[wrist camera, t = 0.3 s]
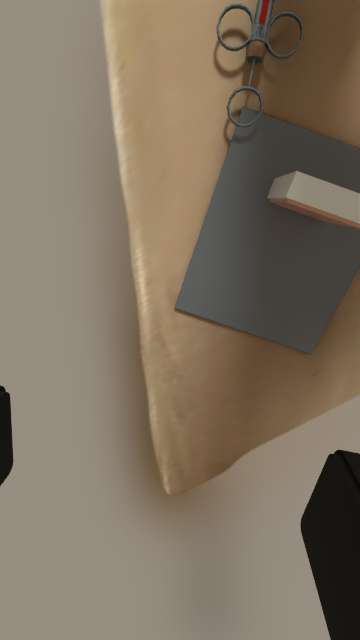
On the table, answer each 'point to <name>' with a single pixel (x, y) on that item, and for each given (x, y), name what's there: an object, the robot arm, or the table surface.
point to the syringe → (257, 42)
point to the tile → (316, 199)
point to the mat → (273, 238)
